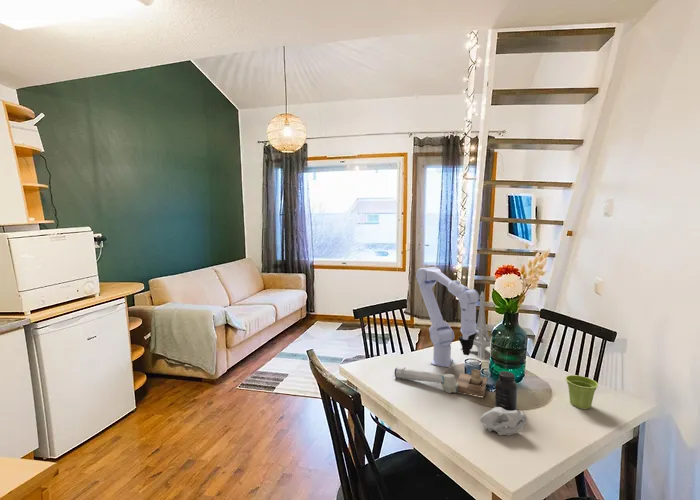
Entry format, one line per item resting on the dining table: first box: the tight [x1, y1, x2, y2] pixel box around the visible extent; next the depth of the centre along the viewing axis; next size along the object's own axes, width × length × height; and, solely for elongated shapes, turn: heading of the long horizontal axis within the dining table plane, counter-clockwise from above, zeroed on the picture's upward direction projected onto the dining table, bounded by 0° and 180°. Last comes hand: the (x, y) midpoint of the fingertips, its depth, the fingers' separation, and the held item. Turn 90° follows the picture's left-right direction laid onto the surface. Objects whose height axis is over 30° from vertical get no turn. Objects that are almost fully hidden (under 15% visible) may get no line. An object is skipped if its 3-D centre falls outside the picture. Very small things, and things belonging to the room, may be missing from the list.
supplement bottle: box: [494, 370, 518, 411], centre depth 118 cm, size 7×7×12 cm
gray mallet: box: [394, 367, 459, 394], centre depth 135 cm, size 5×7×25 cm
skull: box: [479, 406, 528, 437], centre depth 105 cm, size 8×9×12 cm
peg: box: [470, 369, 482, 386], centre depth 131 cm, size 3×3×7 cm
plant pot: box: [565, 374, 599, 410], centre depth 120 cm, size 9×9×9 cm
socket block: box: [456, 372, 488, 398], centre depth 132 cm, size 12×10×2 cm
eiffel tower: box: [460, 291, 491, 360], centre depth 167 cm, size 13×13×30 cm
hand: (467, 351), depth 141 cm, fingers open, 7 cm apart
